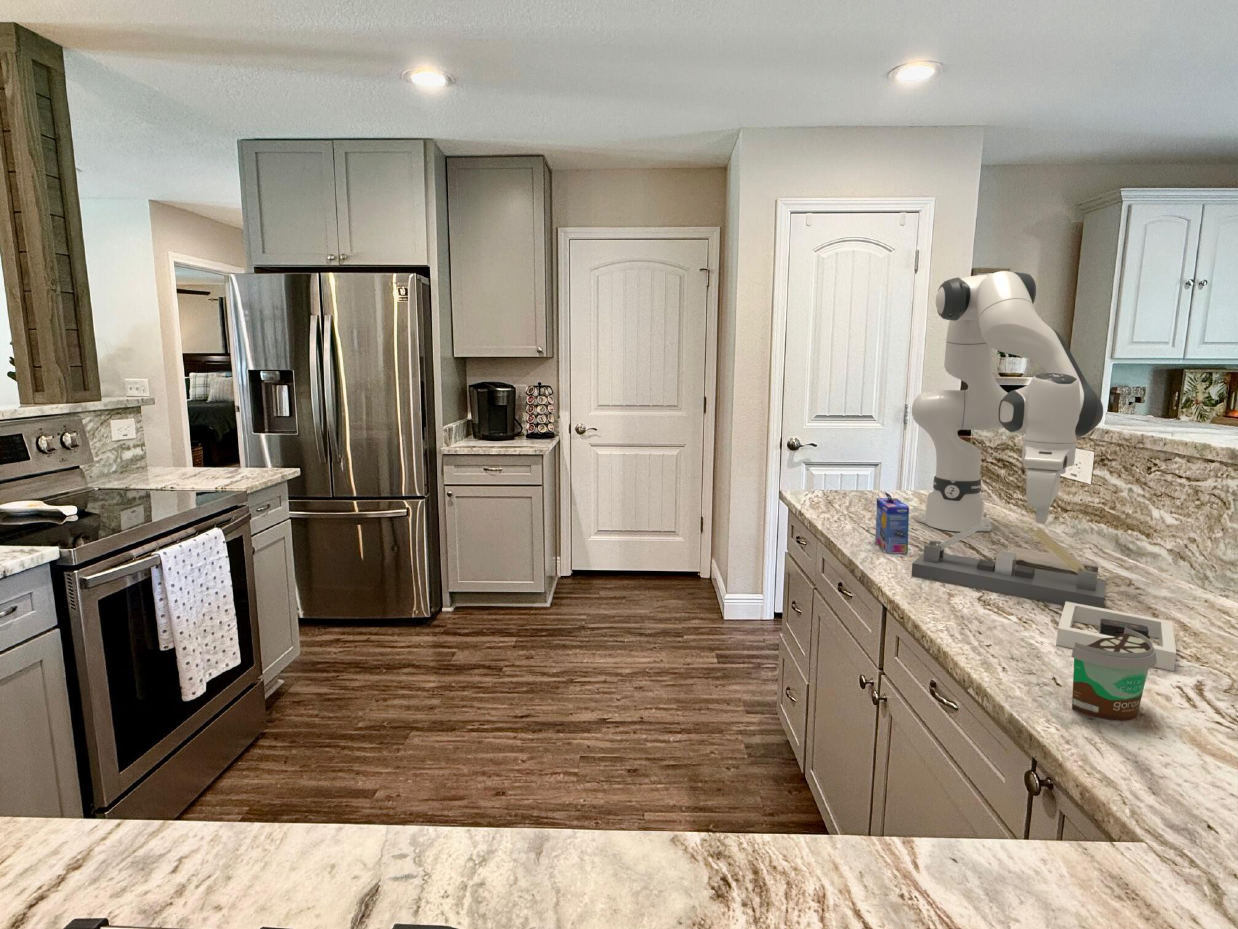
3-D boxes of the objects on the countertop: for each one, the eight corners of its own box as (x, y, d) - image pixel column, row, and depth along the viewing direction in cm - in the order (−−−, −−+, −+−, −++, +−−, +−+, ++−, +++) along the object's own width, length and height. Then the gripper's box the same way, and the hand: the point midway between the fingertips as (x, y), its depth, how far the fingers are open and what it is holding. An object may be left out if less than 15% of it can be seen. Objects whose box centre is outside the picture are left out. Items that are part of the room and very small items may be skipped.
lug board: (925, 562, 150) (927, 536, 149) (1104, 594, 129) (1108, 563, 128) (911, 576, 141) (913, 548, 140) (1102, 612, 119) (1106, 580, 118)
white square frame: (1064, 616, 118) (1065, 601, 117) (1169, 637, 109) (1172, 621, 108) (1056, 644, 106) (1057, 628, 106) (1173, 671, 97) (1176, 653, 97)
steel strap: (934, 554, 144) (929, 547, 144) (987, 525, 136) (981, 518, 137) (931, 557, 142) (926, 550, 142) (984, 528, 134) (979, 521, 135)
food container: (1114, 735, 81) (1124, 662, 79) (1064, 711, 87) (1072, 642, 85) (1169, 713, 86) (1179, 644, 84) (1119, 691, 91) (1127, 626, 90)
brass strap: (1033, 532, 131) (1040, 526, 130) (1088, 580, 126) (1096, 574, 125) (1031, 535, 129) (1039, 529, 128) (1087, 584, 124) (1095, 578, 123)
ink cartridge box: (873, 542, 167) (876, 489, 164) (895, 543, 166) (898, 489, 164) (885, 554, 157) (888, 497, 154) (908, 554, 156) (912, 497, 154)
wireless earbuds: (1153, 651, 104) (1155, 633, 104) (1099, 641, 108) (1101, 623, 107) (1149, 641, 108) (1151, 623, 107) (1097, 631, 112) (1099, 614, 111)
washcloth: (1006, 555, 157) (1007, 543, 156) (1095, 572, 144) (1096, 559, 143) (989, 565, 149) (991, 553, 148) (1081, 584, 136) (1083, 571, 135)
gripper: (1035, 448, 136) (1029, 510, 139) (1022, 460, 121) (1015, 529, 123) (1071, 450, 133) (1064, 514, 135) (1062, 463, 117) (1054, 535, 119)
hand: (1041, 522), depth 129 cm, fingers closed
